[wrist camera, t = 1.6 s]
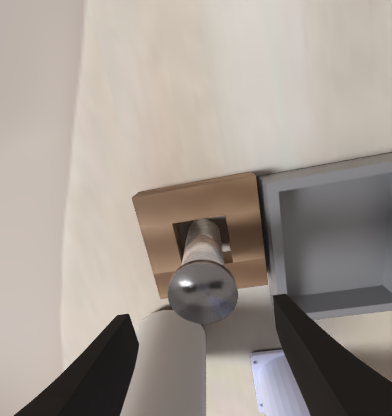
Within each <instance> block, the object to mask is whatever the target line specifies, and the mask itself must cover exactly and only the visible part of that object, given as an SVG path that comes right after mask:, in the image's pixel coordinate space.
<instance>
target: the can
mask: <svg viewBox="0 0 392 416" xmlns="http://www.w3.org/2000/svg"><path fill="white" fill-rule="evenodd" d="M136 336H137V339H138V342H139V350H138V355H137V360H136V365H135V369H134V372H133V376H132V379H131V382H130V385H129V389H128V392H127V395H126V398H125V401H124V404H123V408H122V411H121V414H120V416H206V334H205V331H204V329H203V327H202V325H201V324H199V323H194V322H190V321H187V320H185V319H183V318H182V317H180V316H179V315H178V314H177V313H176V312H175V311H174V310H161V311H157V312H154V313H152V314H150V315H148V316H147V317H145V318H144V319H143V321H142V322H141V323H140V324H139V326H138V329H137V332H136Z"/></svg>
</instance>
